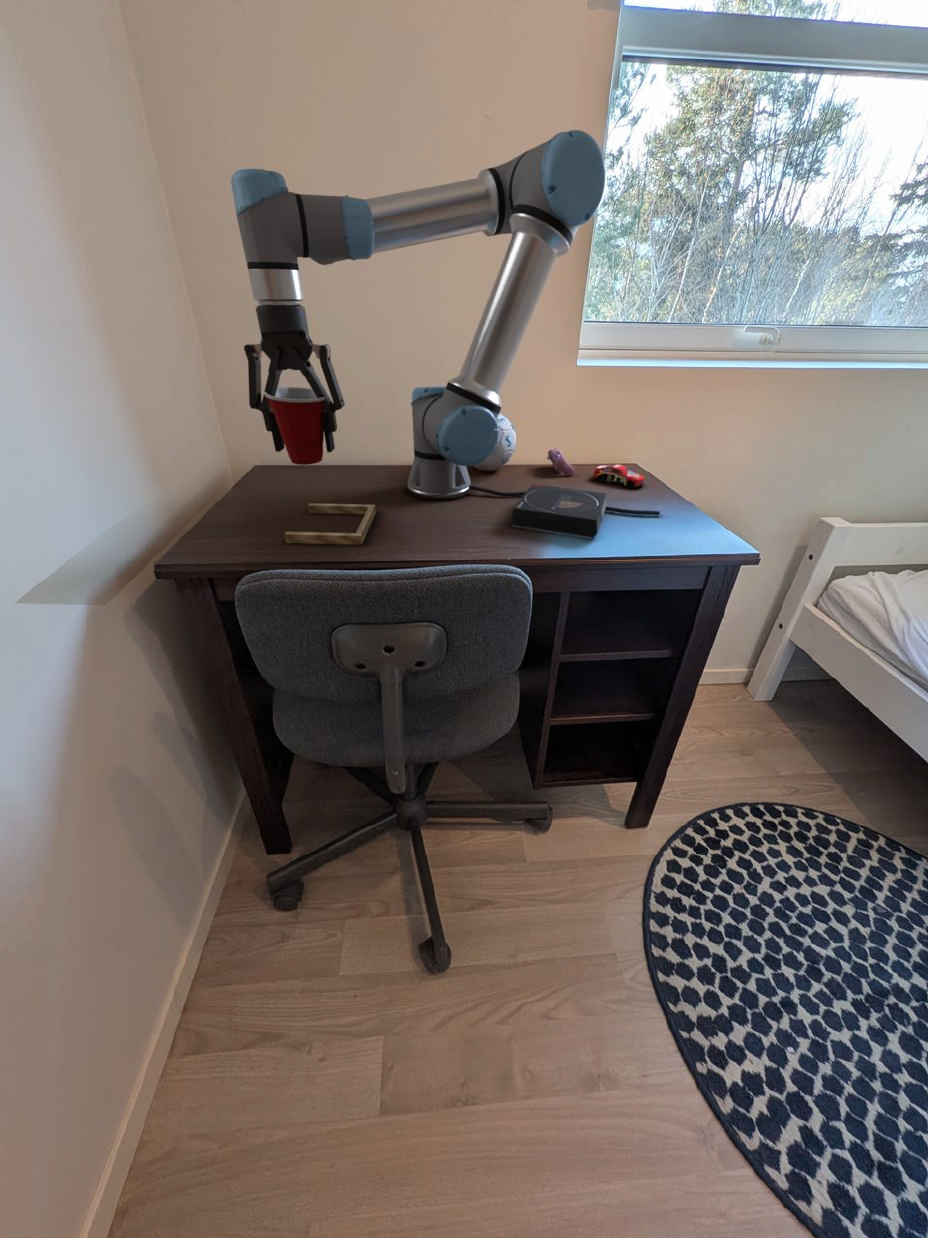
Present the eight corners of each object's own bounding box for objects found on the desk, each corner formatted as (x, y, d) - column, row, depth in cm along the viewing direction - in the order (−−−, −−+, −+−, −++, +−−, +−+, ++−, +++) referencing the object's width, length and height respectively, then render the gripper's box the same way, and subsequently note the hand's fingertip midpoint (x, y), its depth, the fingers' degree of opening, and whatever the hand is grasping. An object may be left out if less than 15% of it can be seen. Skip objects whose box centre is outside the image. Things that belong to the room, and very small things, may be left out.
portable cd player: (596, 539, 93) (599, 520, 91) (511, 526, 98) (513, 507, 96) (605, 511, 106) (608, 493, 104) (530, 500, 111) (532, 483, 109)
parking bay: (376, 512, 103) (375, 504, 102) (361, 544, 89) (360, 535, 88) (310, 511, 103) (309, 503, 102) (286, 543, 89) (284, 534, 88)
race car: (647, 485, 122) (650, 469, 120) (638, 490, 118) (641, 474, 116) (600, 474, 129) (602, 459, 127) (590, 479, 125) (593, 463, 123)
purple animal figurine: (551, 471, 136) (542, 448, 132) (566, 463, 135) (558, 440, 131) (560, 482, 128) (551, 458, 124) (576, 474, 127) (567, 450, 123)
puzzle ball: (511, 479, 124) (515, 418, 116) (454, 475, 126) (454, 414, 118) (516, 463, 136) (520, 407, 128) (464, 460, 138) (465, 404, 130)
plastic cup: (321, 471, 84) (310, 397, 77) (266, 466, 86) (250, 393, 79) (346, 454, 93) (338, 387, 86) (295, 451, 94) (283, 384, 88)
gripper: (352, 303, 78) (367, 445, 91) (223, 303, 79) (255, 444, 91) (341, 304, 72) (359, 456, 85) (201, 303, 72) (239, 454, 85)
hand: (305, 449), depth 88 cm, fingers closed on plastic cup, 9 cm apart
